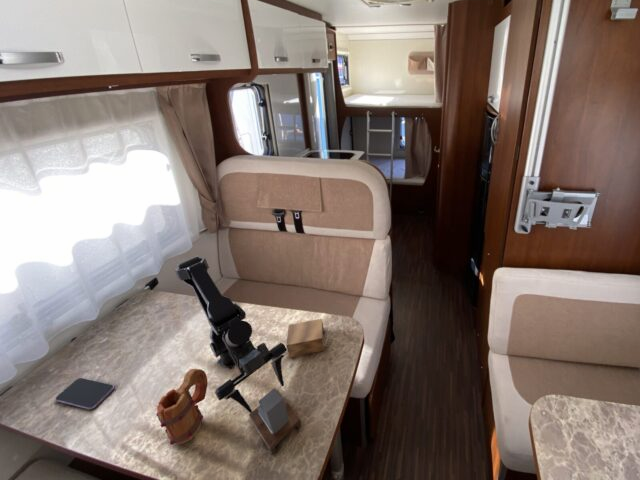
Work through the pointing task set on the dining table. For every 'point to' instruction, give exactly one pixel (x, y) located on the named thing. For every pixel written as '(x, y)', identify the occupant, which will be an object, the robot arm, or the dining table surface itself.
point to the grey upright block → (273, 411)
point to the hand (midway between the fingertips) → (267, 398)
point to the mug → (183, 408)
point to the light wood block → (305, 338)
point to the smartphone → (85, 393)
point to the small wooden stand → (273, 439)
